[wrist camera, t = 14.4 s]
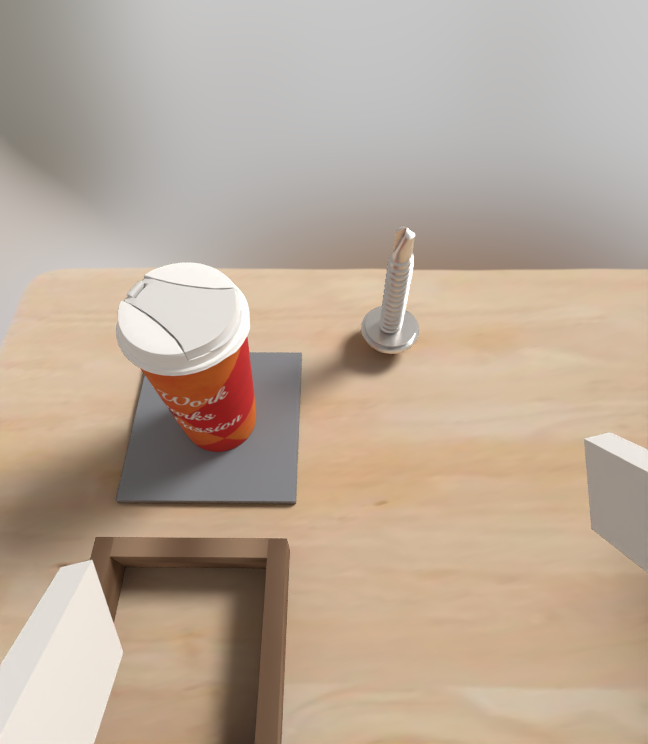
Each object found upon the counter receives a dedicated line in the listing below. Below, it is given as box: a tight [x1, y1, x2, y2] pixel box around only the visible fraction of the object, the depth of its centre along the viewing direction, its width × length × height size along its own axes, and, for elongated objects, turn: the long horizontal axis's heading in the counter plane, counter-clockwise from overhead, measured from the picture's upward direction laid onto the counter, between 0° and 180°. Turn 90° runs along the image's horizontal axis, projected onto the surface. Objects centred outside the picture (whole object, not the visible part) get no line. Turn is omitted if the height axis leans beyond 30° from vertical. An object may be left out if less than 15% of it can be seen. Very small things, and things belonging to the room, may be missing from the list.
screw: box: [361, 227, 419, 354], centre depth 40 cm, size 13×5×5 cm
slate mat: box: [116, 353, 302, 504], centre depth 41 cm, size 13×13×1 cm
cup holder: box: [90, 537, 290, 744], centre depth 32 cm, size 12×12×3 cm
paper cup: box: [116, 263, 256, 452], centre depth 35 cm, size 8×8×14 cm
